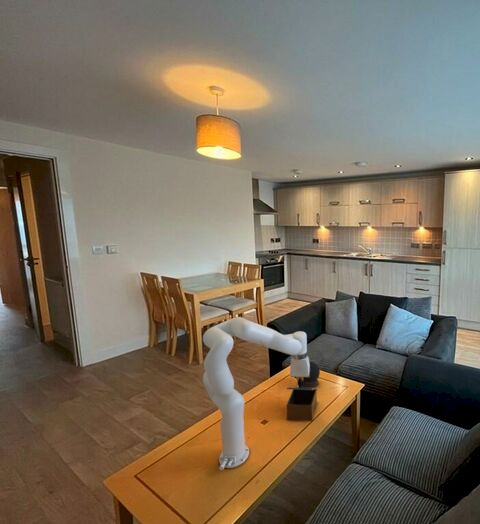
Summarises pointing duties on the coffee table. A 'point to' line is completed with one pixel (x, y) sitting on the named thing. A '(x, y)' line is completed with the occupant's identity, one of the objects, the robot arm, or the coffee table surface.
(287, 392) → the coffee table surface
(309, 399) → the brown box
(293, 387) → the blue-grey square panel
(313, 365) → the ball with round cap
